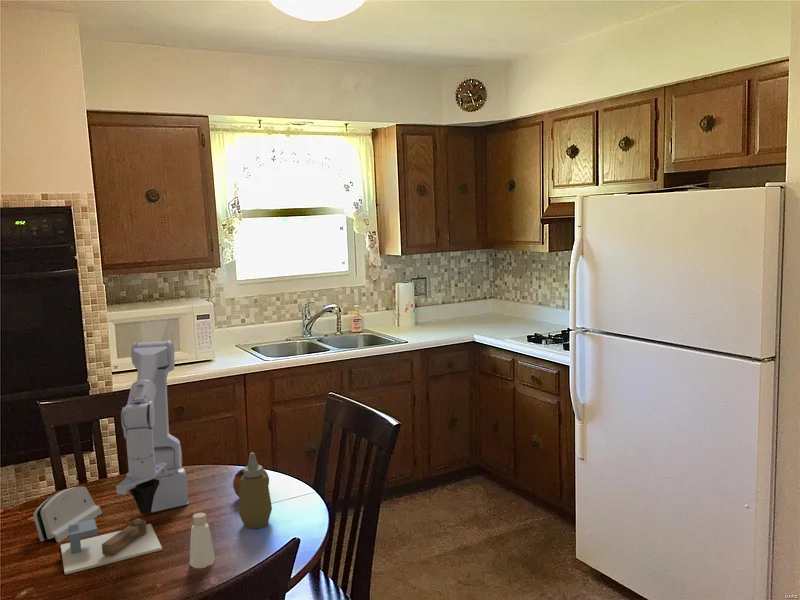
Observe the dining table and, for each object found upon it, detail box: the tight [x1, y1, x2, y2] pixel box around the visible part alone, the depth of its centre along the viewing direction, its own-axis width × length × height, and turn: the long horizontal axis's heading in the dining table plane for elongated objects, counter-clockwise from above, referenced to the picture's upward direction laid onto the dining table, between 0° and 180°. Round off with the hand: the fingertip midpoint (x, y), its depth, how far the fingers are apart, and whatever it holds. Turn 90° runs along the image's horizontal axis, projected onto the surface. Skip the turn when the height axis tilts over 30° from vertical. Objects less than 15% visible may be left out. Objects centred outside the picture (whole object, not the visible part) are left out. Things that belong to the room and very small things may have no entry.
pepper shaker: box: [189, 512, 216, 569], centre depth 147 cm, size 5×5×11 cm
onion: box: [232, 467, 270, 498], centre depth 181 cm, size 10×9×10 cm
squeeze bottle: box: [238, 452, 273, 529], centre depth 164 cm, size 8×8×18 cm
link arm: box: [102, 518, 147, 556], centre depth 156 cm, size 13×4×3 cm, turn 165°
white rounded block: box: [32, 485, 103, 543], centre depth 167 cm, size 17×5×10 cm, turn 167°
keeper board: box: [60, 518, 163, 576], centre depth 155 cm, size 20×14×6 cm
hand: (145, 512), depth 155 cm, fingers closed
